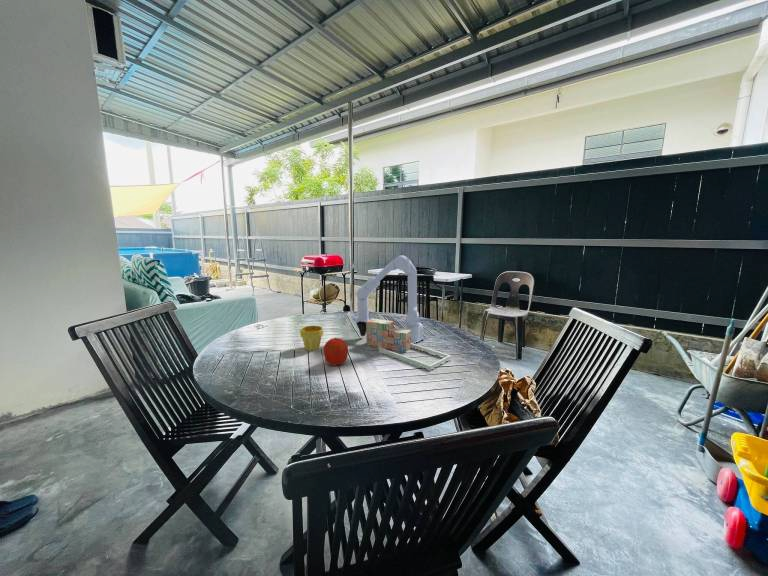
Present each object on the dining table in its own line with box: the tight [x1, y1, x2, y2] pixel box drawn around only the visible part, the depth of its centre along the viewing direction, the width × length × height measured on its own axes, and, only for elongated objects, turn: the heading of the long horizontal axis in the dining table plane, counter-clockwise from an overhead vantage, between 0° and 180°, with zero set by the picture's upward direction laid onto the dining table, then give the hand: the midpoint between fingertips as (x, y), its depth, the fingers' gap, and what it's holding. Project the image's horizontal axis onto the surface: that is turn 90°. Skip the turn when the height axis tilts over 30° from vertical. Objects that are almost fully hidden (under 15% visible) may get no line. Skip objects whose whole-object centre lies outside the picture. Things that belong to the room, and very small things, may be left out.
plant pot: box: [299, 324, 324, 352], centre depth 146 cm, size 10×10×10 cm
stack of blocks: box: [365, 318, 412, 353], centre depth 150 cm, size 21×6×12 cm, turn 62°
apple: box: [323, 337, 349, 366], centre depth 129 cm, size 10×10×12 cm
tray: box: [378, 343, 452, 371], centre depth 139 cm, size 16×29×2 cm, turn 47°
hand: (363, 335), depth 162 cm, fingers closed
